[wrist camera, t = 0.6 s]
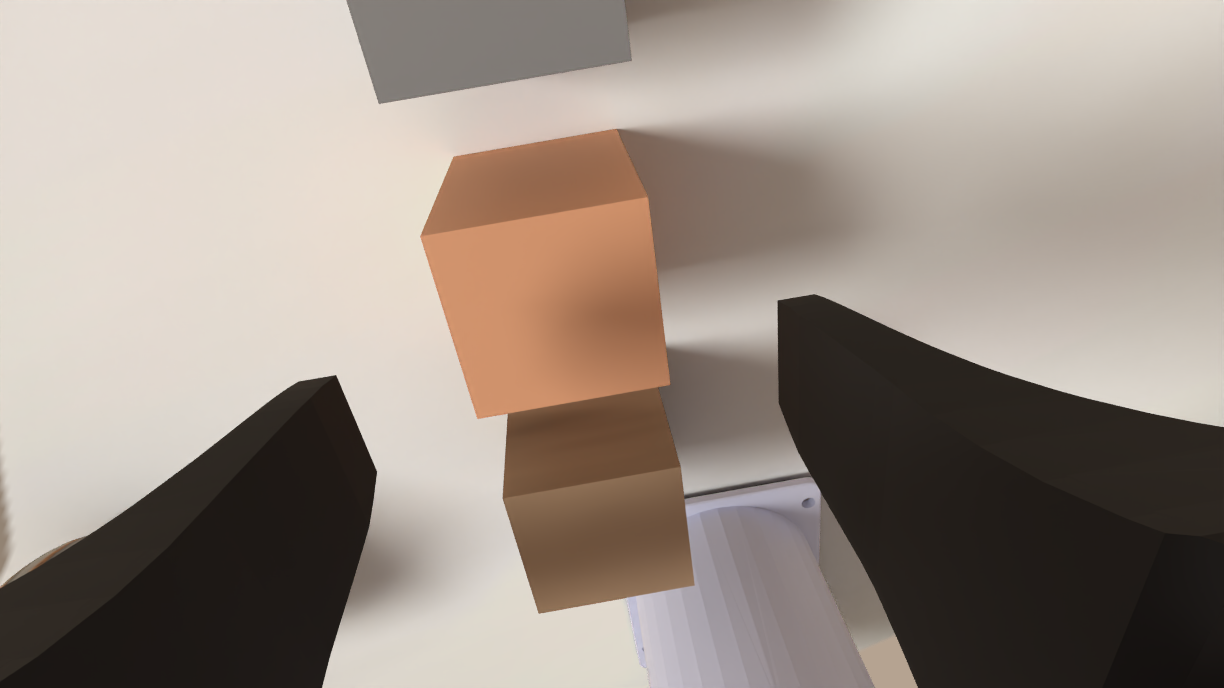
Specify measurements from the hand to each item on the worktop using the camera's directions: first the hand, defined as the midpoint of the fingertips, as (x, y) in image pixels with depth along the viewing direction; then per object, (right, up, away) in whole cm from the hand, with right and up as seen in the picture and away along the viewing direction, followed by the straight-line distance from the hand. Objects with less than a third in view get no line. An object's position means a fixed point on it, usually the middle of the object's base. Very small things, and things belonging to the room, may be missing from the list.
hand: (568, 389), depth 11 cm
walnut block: (0, -2, +12) cm, 12 cm away
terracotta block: (-1, +4, +8) cm, 9 cm away
